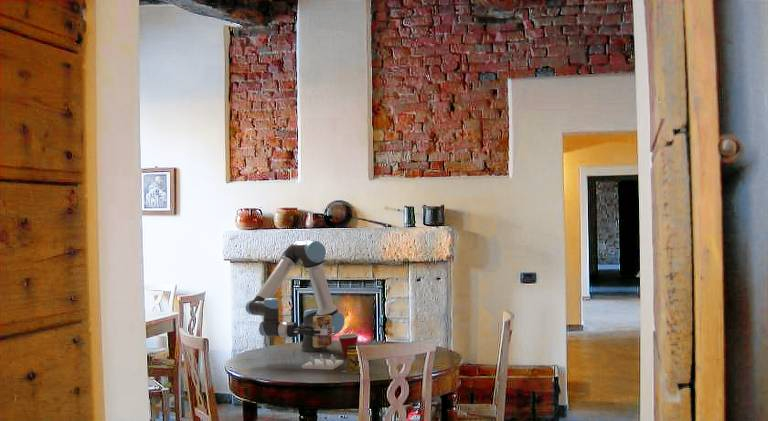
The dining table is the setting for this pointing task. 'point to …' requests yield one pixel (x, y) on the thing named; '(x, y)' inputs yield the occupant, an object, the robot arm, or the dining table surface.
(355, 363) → the condiment
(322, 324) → the candy box
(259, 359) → the dining table surface
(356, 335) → the plastic cup
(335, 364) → the caddy tray
